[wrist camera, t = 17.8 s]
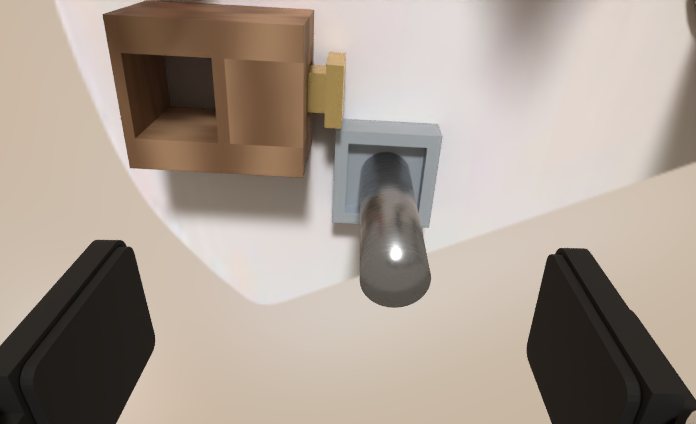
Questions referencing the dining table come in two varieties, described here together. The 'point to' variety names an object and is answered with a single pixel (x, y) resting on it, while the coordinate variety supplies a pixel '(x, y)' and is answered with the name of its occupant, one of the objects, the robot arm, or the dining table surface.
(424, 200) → the grey square tray
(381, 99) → the dining table surface
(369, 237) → the grey cylinder
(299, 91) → the socket block
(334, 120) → the tan wooden t-shaped piece
